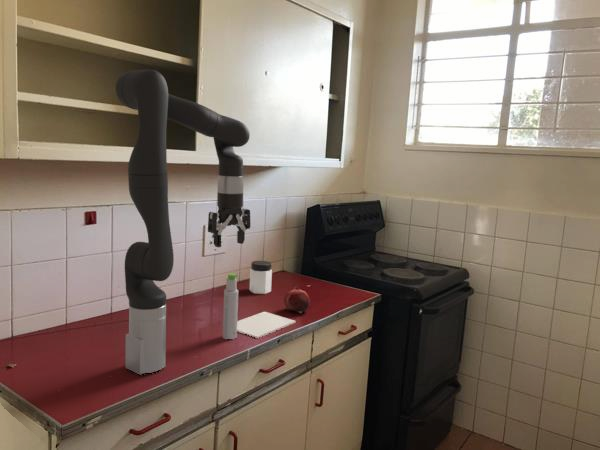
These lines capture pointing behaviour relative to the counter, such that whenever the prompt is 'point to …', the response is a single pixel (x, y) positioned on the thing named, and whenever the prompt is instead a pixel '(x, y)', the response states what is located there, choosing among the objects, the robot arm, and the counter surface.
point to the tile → (262, 324)
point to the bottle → (230, 308)
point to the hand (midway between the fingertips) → (229, 245)
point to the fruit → (297, 300)
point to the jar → (260, 277)
